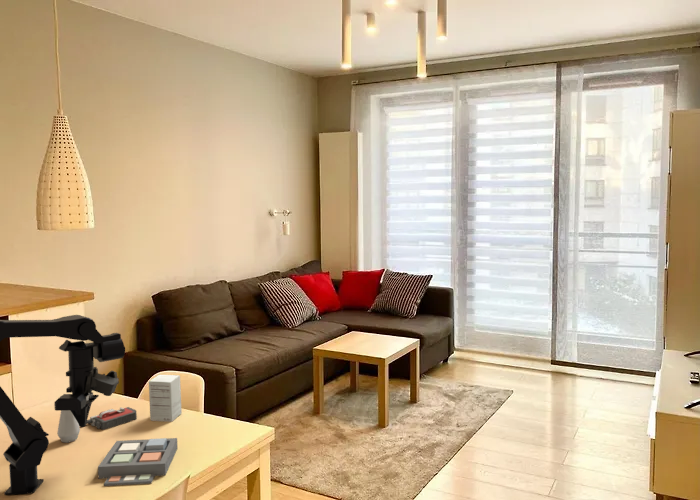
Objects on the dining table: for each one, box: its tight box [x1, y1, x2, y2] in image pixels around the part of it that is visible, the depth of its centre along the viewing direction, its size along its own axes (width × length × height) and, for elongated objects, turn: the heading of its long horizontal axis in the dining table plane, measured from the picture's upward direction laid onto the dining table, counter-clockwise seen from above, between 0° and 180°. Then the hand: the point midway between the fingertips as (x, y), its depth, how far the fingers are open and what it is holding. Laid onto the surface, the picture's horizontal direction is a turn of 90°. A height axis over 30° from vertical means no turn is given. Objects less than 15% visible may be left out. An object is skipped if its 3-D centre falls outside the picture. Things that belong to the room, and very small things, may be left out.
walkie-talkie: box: [79, 406, 138, 431], centre depth 182 cm, size 9×4×20 cm
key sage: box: [110, 454, 133, 464], centre depth 151 cm, size 4×4×2 cm
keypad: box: [97, 437, 178, 487], centre depth 153 cm, size 20×16×3 cm
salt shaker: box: [56, 395, 81, 444], centre depth 170 cm, size 6×6×13 cm
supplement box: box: [148, 374, 182, 423], centre depth 188 cm, size 7×7×13 cm
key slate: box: [146, 437, 167, 451], centre depth 159 cm, size 4×4×2 cm
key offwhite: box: [118, 443, 140, 452], centre depth 158 cm, size 4×4×2 cm
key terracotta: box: [139, 452, 161, 462], centre depth 152 cm, size 4×4×2 cm
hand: (83, 426), depth 151 cm, fingers closed
